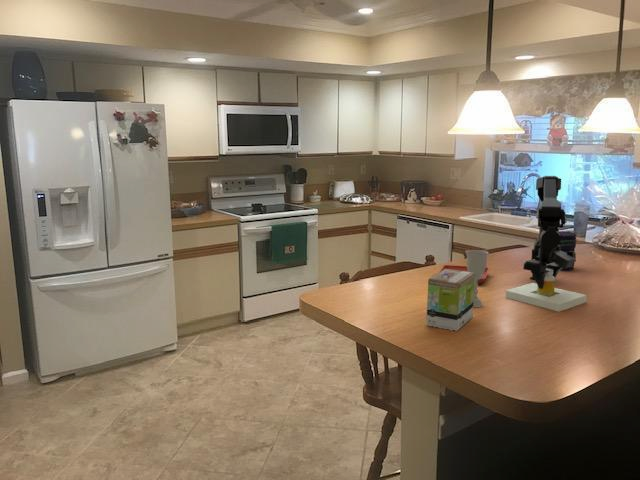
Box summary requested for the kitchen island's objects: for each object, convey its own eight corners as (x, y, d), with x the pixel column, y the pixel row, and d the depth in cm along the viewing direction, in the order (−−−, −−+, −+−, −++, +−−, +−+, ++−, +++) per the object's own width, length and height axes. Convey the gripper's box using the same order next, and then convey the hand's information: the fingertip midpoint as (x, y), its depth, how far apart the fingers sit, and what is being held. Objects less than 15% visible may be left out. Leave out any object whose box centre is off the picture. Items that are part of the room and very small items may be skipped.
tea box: (458, 332, 155) (460, 282, 153) (425, 326, 161) (426, 278, 158) (473, 317, 168) (475, 271, 165) (442, 312, 173) (443, 267, 170)
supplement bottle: (555, 300, 181) (557, 271, 179) (538, 299, 182) (540, 271, 180) (551, 295, 186) (553, 268, 184) (535, 294, 187) (537, 267, 185)
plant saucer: (436, 282, 209) (436, 274, 208) (443, 272, 225) (443, 264, 224) (485, 287, 202) (485, 278, 201) (488, 275, 219) (489, 267, 218)
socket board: (505, 297, 188) (505, 290, 187) (532, 289, 197) (532, 282, 196) (559, 311, 172) (559, 304, 171) (585, 302, 181) (586, 295, 180)
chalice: (486, 302, 182) (489, 250, 178) (485, 308, 176) (488, 254, 172) (464, 301, 184) (466, 249, 181) (462, 306, 178) (464, 253, 174)
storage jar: (575, 267, 228) (578, 232, 225) (572, 272, 220) (575, 236, 217) (550, 264, 233) (552, 230, 230) (546, 269, 225) (548, 234, 222)
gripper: (555, 250, 169) (551, 297, 172) (587, 242, 179) (583, 287, 182) (523, 244, 177) (521, 290, 181) (555, 237, 188) (552, 280, 191)
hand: (545, 287), depth 183 cm, fingers closed on supplement bottle, 5 cm apart
